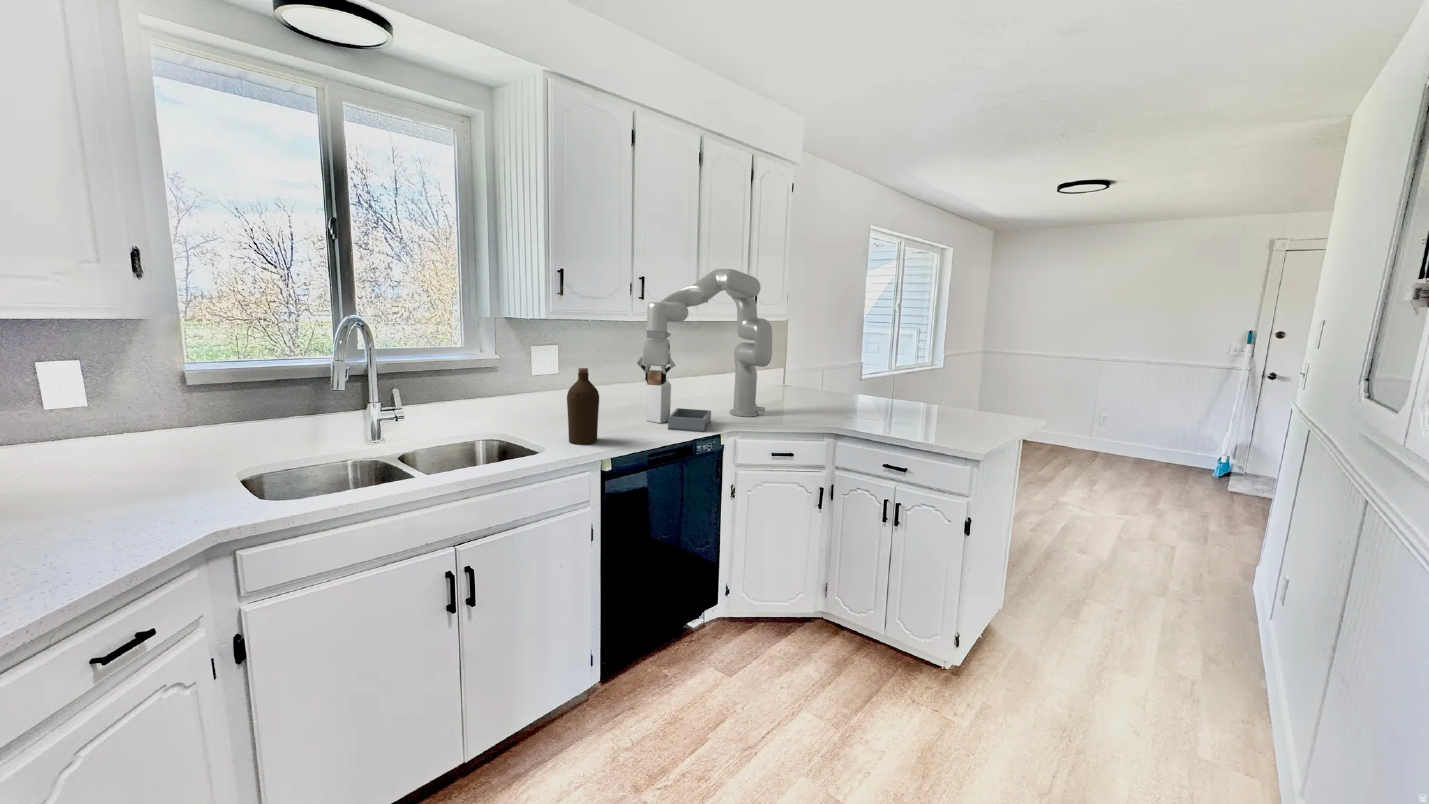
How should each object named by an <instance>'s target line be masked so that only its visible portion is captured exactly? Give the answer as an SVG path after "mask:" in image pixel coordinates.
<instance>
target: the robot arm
mask: <svg viewBox="0 0 1429 804" xmlns="http://www.w3.org/2000/svg"><path fill="white" fill-rule="evenodd" d="M722 291H725V293H726V294H727V295H728V296H729V297H730V298H731V299H732V300H733V301H734V303H735V305H736V319H737V320H736V321H737V323H736V324H737V325H736V327H737V328H736V329H737V334H738V337H739V338H741V339H744V340H747V341H754V342H745V341H743V342H740V343H738V344H737V345H736V346H735V347H734V352H733V358H734V365H735V366H734V367H735V368H734V369H735V373H734V374H735V375H734V376H735V377H734V378H735V379H734V392H733V393H734V395H733V408H732V409H729V414H730V415H732V416H736V417H743V418H744V417H756V416H759V412H761V413H763V412H766V407H764V406H758V405H757V403H756V399H757V395H756V394H757V384H758V383H757V382H758V380H757V379H758V373H757V369H756V367H761V368H763V367H767V366H768V365H769V364H770V363H771V361H772V357H773V328H772V325H771V323H770V321H769V320H767V319H766V318H763V317H758V310H757V309H758V307H757V302H756V299H755V298H756V297H757V296H758V295H759V294H760V291H761V283H760V281H759V280H758V278H757V277H754V276H753V275H750V274H747V273H744V272H742V271H739V270H736V269H733V268H717V269H713V270H712V271H710V272H709V273H708V274H706V275H704V276H703V277H702V278H700V279H699V280H697V281H696V282H695V283H693V284H692V285H688V286H686V287H683V288H682V289H680V290H677V291H675V292H673V293H671V294H669V295H667V296H666V297H665V298H663V299H661V301H650V302H649V303H647V308H646V310H647V311H646V312H647V313H646V315H647V316H646V338H644V342H643V348H642V355H641V357H640V359H638V361H637V362H636V364H637V365H638V367H640V368H641V369H642V370H643V372H644V373H645V381H646V384H648V371H650V369H651V368H652V367H651V366H656V367H661V371H662V374H661V384H664V383H665V382H666V379H667V373H668V372H669V371H670V370H671V369H673V368H674V367H676V364H675V362H674V361H673V359H672V358H671V346H670V345H671V344H670V339H669V337H671V335H672V334H671V333H670V332H668V322H670V323H682V322H683V321H685V320H686V319H687V318H688V316H689V309H688V308H690V307H695V306H699V305H703V304H705V303H707V302H708V301H709V300H711V299H712V298H713V297H715V296H716V295H718V294H720V292H722ZM667 366H668V367H667Z"/></svg>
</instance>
